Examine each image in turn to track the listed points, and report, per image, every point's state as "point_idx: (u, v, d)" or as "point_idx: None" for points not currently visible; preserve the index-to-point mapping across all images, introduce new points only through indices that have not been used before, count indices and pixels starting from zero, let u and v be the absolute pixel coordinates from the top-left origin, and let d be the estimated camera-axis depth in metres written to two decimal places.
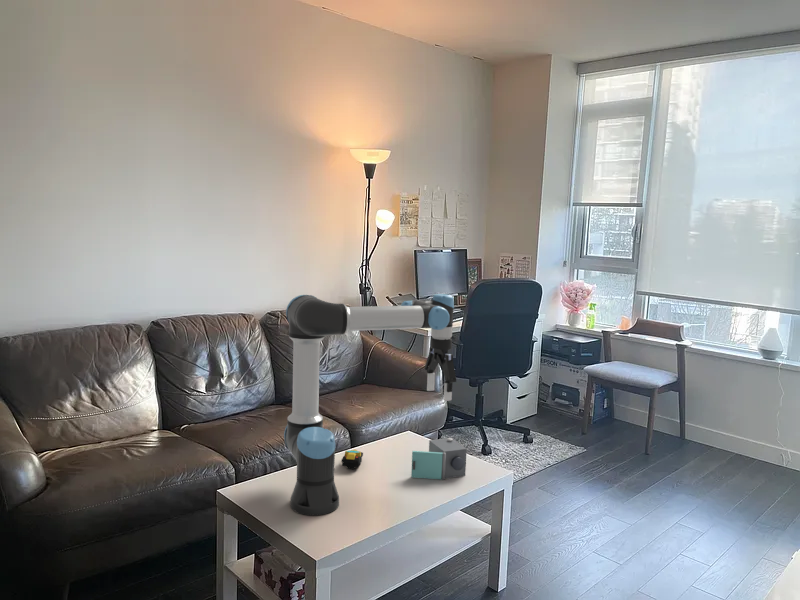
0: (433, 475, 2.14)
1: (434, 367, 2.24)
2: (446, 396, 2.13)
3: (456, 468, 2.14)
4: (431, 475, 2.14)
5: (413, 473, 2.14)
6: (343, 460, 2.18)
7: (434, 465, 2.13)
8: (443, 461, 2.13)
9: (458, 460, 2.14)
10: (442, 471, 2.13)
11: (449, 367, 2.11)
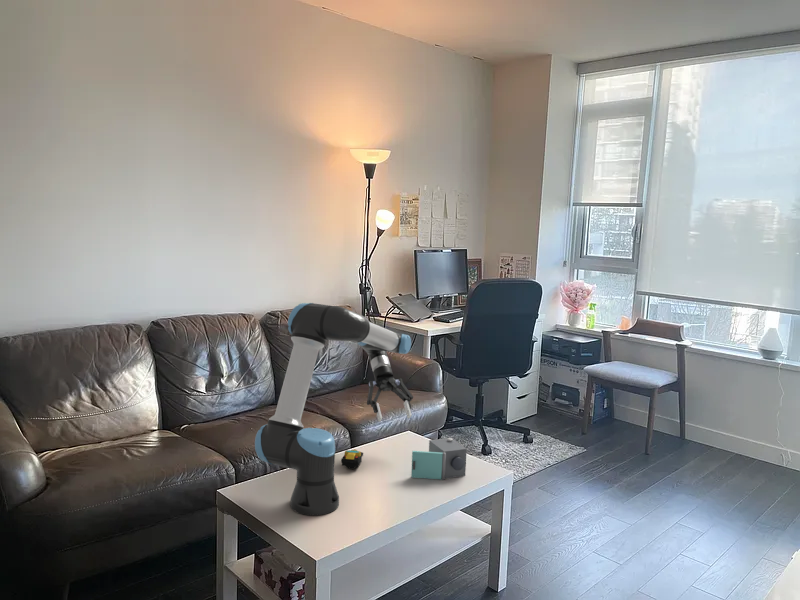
0: (433, 475, 2.14)
1: None
2: None
3: (456, 468, 2.14)
4: (431, 475, 2.14)
5: (413, 473, 2.14)
6: (343, 460, 2.18)
7: (434, 465, 2.13)
8: (443, 461, 2.13)
9: (458, 460, 2.14)
10: (442, 471, 2.13)
11: None
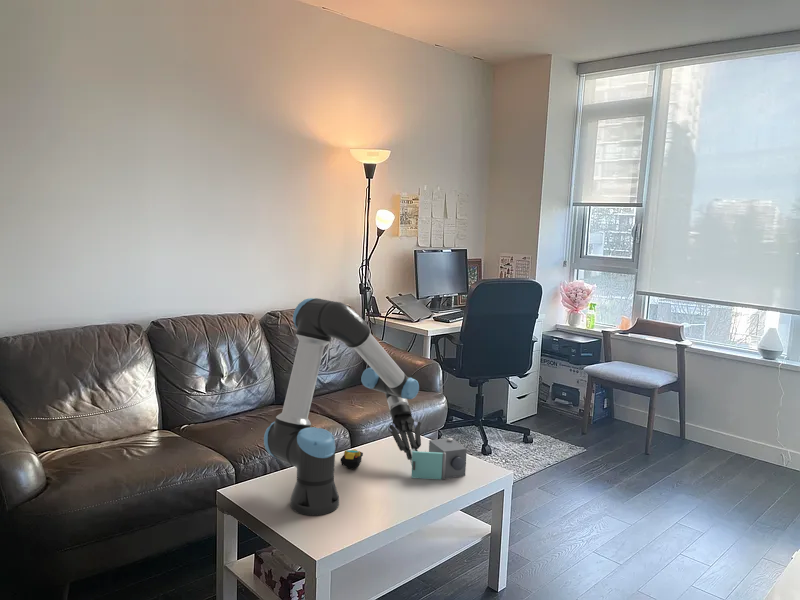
0: (433, 475, 2.14)
1: None
2: None
3: (456, 468, 2.14)
4: (431, 476, 2.14)
5: (414, 473, 2.14)
6: (342, 460, 2.18)
7: (434, 465, 2.13)
8: (443, 461, 2.13)
9: (458, 460, 2.14)
10: (442, 471, 2.13)
11: None
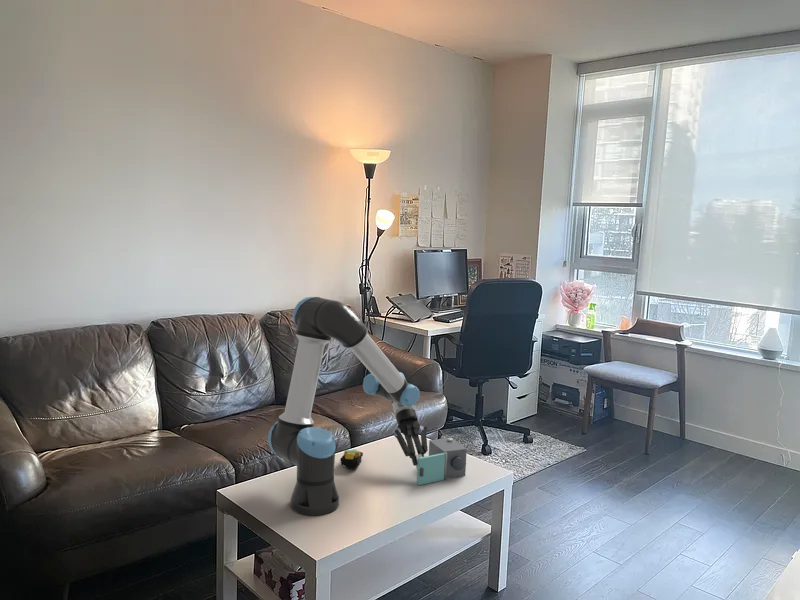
0: (437, 477, 2.12)
1: None
2: None
3: (456, 468, 2.14)
4: (435, 478, 2.12)
5: (420, 480, 2.08)
6: (342, 460, 2.18)
7: (438, 467, 2.12)
8: (445, 461, 2.13)
9: (458, 460, 2.14)
10: (444, 471, 2.13)
11: None
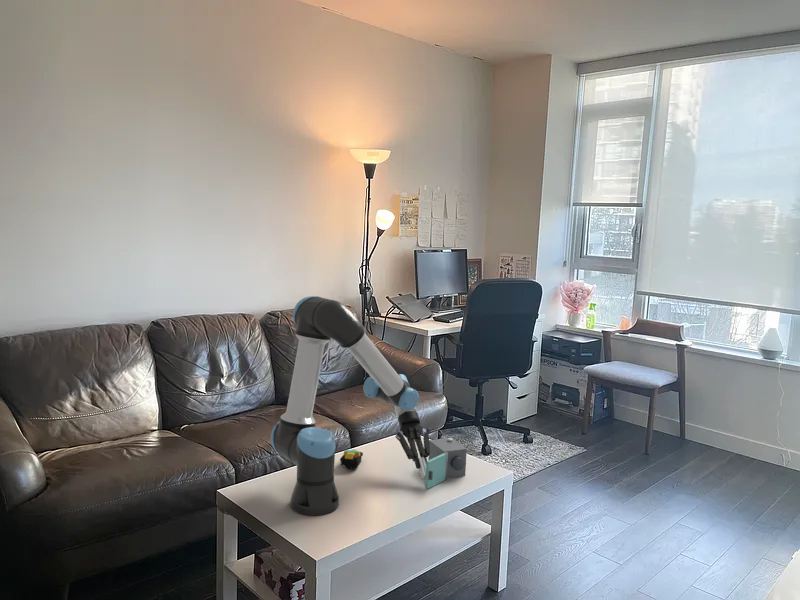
0: (440, 478, 2.11)
1: None
2: None
3: (456, 468, 2.14)
4: (439, 479, 2.11)
5: (429, 483, 2.06)
6: (342, 459, 2.18)
7: (441, 468, 2.11)
8: (446, 461, 2.13)
9: (458, 460, 2.14)
10: (446, 471, 2.14)
11: None
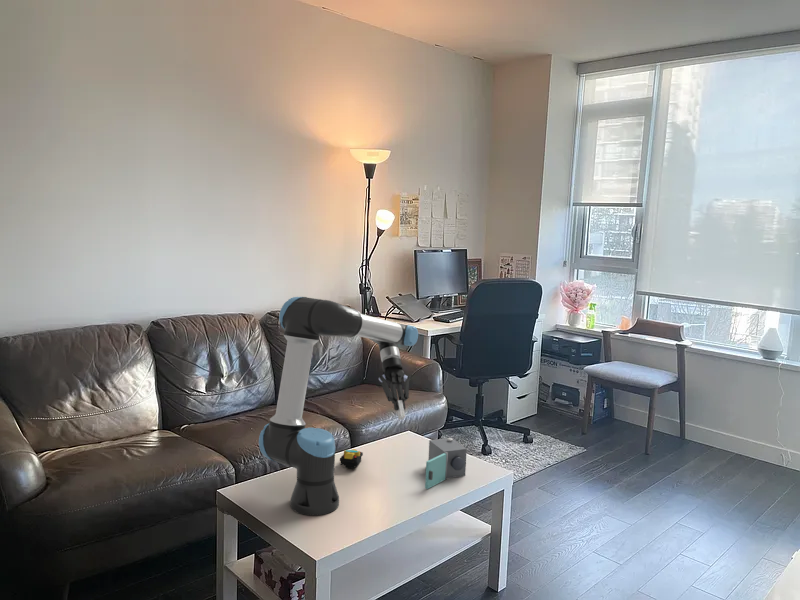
0: (440, 478, 2.11)
1: None
2: None
3: (456, 468, 2.14)
4: (439, 479, 2.11)
5: (429, 483, 2.06)
6: (341, 459, 2.19)
7: (441, 468, 2.11)
8: (446, 461, 2.13)
9: (458, 460, 2.14)
10: (446, 471, 2.14)
11: None
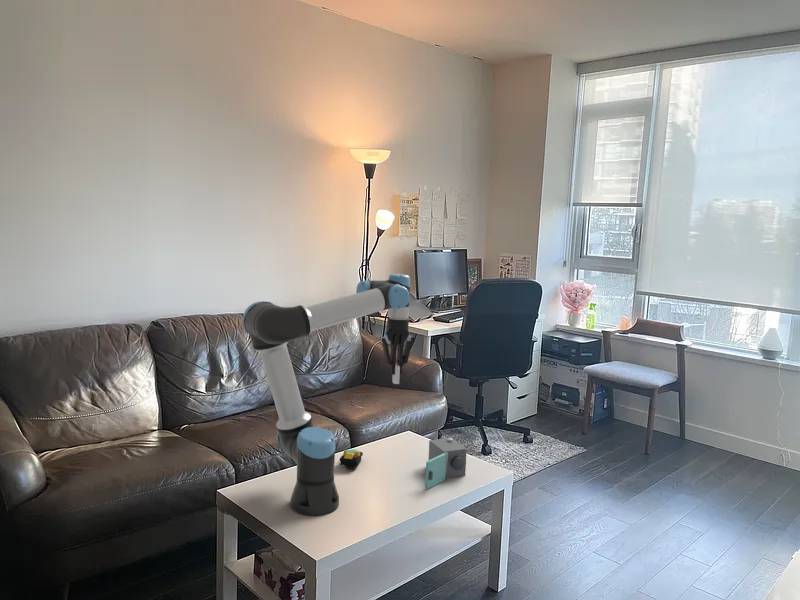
0: (440, 478, 2.11)
1: None
2: None
3: (456, 468, 2.14)
4: (439, 479, 2.11)
5: (429, 483, 2.06)
6: (341, 459, 2.19)
7: (441, 468, 2.11)
8: (446, 461, 2.13)
9: (458, 460, 2.14)
10: (446, 471, 2.14)
11: None
